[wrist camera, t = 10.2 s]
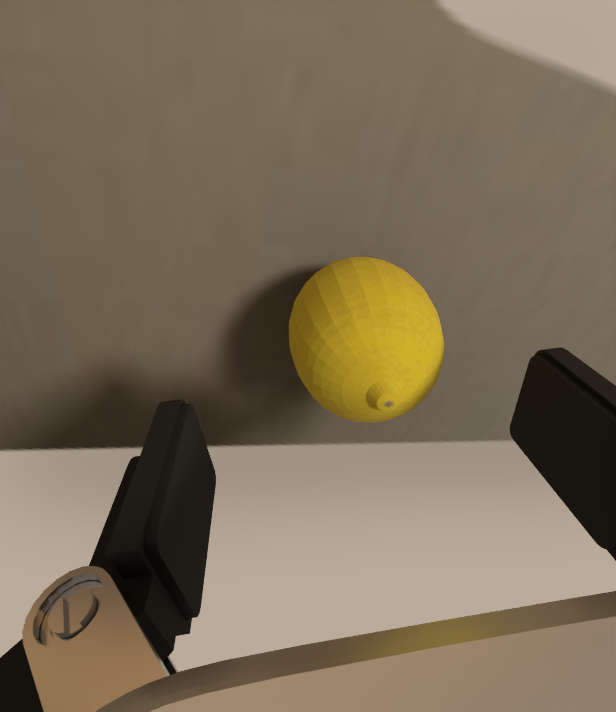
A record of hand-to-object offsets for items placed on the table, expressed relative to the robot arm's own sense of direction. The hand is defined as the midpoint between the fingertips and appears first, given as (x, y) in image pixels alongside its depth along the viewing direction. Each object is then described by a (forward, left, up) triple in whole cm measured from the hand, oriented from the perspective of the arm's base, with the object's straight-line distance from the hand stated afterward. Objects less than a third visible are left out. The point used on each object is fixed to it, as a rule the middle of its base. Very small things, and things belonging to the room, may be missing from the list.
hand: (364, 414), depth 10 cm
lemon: (+1, 0, -9) cm, 9 cm away
